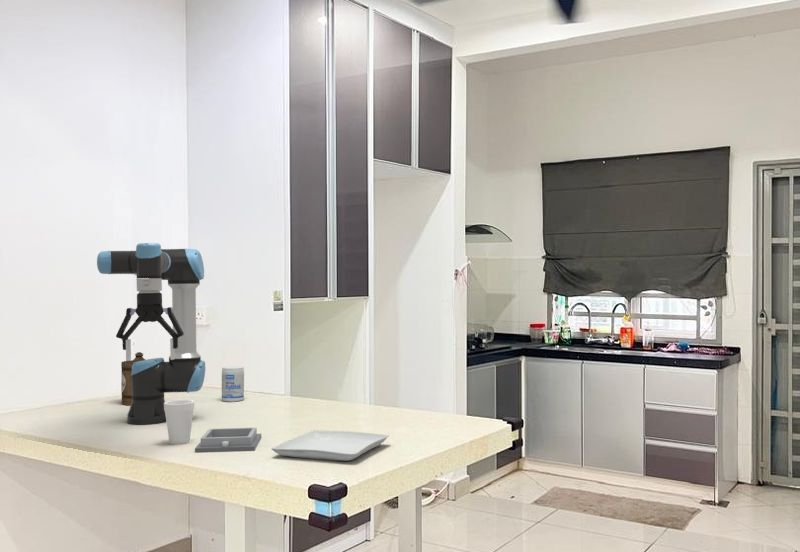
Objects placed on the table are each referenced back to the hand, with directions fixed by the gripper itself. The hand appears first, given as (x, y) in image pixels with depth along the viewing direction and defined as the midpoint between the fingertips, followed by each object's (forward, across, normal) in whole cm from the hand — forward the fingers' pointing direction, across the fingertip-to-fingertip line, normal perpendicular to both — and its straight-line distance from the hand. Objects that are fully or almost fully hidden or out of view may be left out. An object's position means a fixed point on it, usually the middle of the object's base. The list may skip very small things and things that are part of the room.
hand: (150, 359), depth 238 cm
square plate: (+29, +56, -11) cm, 64 cm away
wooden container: (+29, -29, +94) cm, 102 cm away
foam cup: (+28, +6, +9) cm, 30 cm away
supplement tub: (+29, +11, +94) cm, 99 cm away
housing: (+28, +24, +3) cm, 37 cm away
